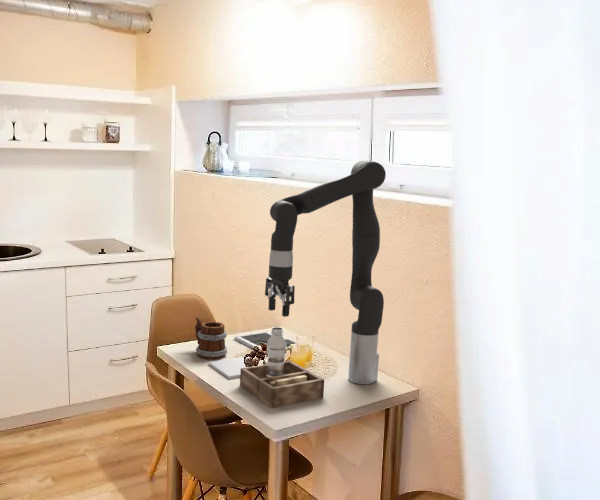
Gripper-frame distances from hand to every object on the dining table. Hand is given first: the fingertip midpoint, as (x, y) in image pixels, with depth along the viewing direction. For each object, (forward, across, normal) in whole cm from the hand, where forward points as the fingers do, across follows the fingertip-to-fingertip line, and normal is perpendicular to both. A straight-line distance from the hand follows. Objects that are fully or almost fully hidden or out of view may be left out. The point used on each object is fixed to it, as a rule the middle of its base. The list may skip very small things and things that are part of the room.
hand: (278, 313), depth 209 cm
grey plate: (+25, +21, +2) cm, 33 cm away
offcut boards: (+25, -10, 0) cm, 27 cm away
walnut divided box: (+25, -4, 0) cm, 25 cm away
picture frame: (+26, +43, -21) cm, 55 cm away
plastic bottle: (+25, 0, 0) cm, 25 cm away
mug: (+26, +40, +5) cm, 48 cm away
